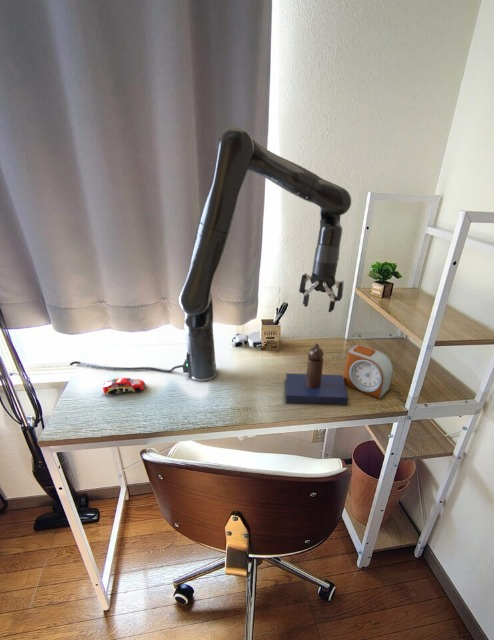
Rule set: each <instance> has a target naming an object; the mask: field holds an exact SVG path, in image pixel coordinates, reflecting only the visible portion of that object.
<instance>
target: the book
mask: <svg viewBox="0 0 494 640" xmlns="http://www.w3.org/2000/svg"><path fill="white" fill-rule="evenodd" d="M306 376H307V373H289V372H288V373H286V376H285V377H286V380H285V404H302V405H305V404H306V405H331V406H332V405H335V406H348V401H349V395H348V390H347V386H346V385H345V383H344V374H341V375H340V374H338V375H337V374H322V377H321V386H320V387H319V388H316V389H312V388H309V387H307V386H306Z"/></svg>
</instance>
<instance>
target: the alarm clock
mask: <svg viewBox="0 0 494 640" xmlns="http://www.w3.org/2000/svg"><path fill="white" fill-rule="evenodd" d="M393 375H394V366H393V363H392V360H391V358H389V356H388V355H387V354H386V353H385V352H382V351H380V350H378V349H374V348H372V347H369V346H366V345H363V344H355V345H354V346H352V347H351V348H350V349H348V350H347V357H346V362H345V367H344V374H343V379H344V383H345V387H349V388H352V389H354V390H356V391H358V392H362V393H364V394H367V395H369V396H372V397H375V398H377V399H381V398H382V397H383V396H384V395H385V394H386V393H387V392H388V391H389V390H390V387H391V383H392V379H393Z"/></svg>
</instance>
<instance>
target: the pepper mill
mask: <svg viewBox="0 0 494 640" xmlns="http://www.w3.org/2000/svg"><path fill="white" fill-rule="evenodd" d="M324 353H325V352H324V350H323V348H322V347H320V344H318V343H314V344H313V347H311V348H310V349H309V351H308V352H307V354H306V355H307V367H306V374H307V376H306V386H307V387H309V388H312V389H316V388H319V387H320V386H321V377H322V375H323V367H324V359H325V358H324Z"/></svg>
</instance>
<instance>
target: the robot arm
mask: <svg viewBox="0 0 494 640" xmlns="http://www.w3.org/2000/svg"><path fill="white" fill-rule="evenodd" d="M215 146H216V152H217V154H216V162H215V169H214V172H213V173H214V174H213V179H212V182H211V186H210V189H209V192H208V194H207V195H206V197H205V200H204V203H203V205H202V208H201V211H200V214H199V217H198V220H197V224H196V229H195V234H194V239H193V243H192V250H191V255H190V263H189V268H188V272H187V275H186V277H185V278H186V279H185V280H184V283H183V286H182V289H181V291H180V293H179V297H178V302H179V305H180V308H181V310H182V311H183V312H184V323H183V324H184V333H185V342H186V350H187V352H186V354H185V356H186V357H185V359H184V362H183V364H179V365H175V366H173V367H171V369H161V368H156V367H151V366H149V367H148V366H143V367H142V366H138V367H123V366H121V367H119V366H118V367H117V366H105V365H98V364H93V363H87V362H86V363H85V362H81V361H77V360H76V361H75V360H74V361H72V362H70V364H69V366H73V365H76V364H77V365H81V366H87V367H92V368H99V369H106V370H120V371H121V370H123V371H133V370H134V371H135V370H150V371H151V370H152V371H157V372H162V373H172V372H173V371H174V370H176V369H181V368H182V372H183V374H188V378H189V379H192V380H194V381H197V382H206V381H210V380H213V379H214V378H215V377H216V376H217V374H218V373H217V363H216V353H215V352H216V351H215V338H214V307H213V294H212V290H211V289H212V284H213V280H214V276H215V275H216V272H217V269H218V267H219V265H220V263H221V260H222V258H223V255H224V253H225V250H226V248H227V245H228V241H229V238H230V234H231V231H232V227H233V223H234V220H235V214H236V211H237V205H238V200H239V196H240V192H241V189H242V187H243V184H244V181H245V179H246V176H247V173H248V171H249V172H252V173H254V174H257V175H259V176H261V177H263V178H265V179H267V180H269V181H270V182H271V183H274V184H275V185H276V186H277V187H280V188H281V189H283V190H284V191H286V192H288V193H290V194H292V195H293V196H295V197H298V198H299V199H301V200H303V201H306V202H307V203H311V204H314V205H316V206H318V207H319V230H318V237H317V243H316V248H315V250H314V251H315V252H314V259H313V265H312V272H311V275H310V274H307V273H304V274H302V275H301V279H300V284H299V289H298V292H299V294H302V295H303V301H302V305H304V307H306V308H307V307H308V306H309V300H310V294H311V292H312V291H313V290H314V291H315V292H321V293H324V294H325V293H326V294H327V296H328V297H329V300H330V301H329V305H328V313H332V312H333V311H334V309H335V306H336V302H340V301H341V300H342V299H343V294H344V293H343V292H344V286H345V281H344V280H341V281H339V280H336V274H337V269H338V263H339V260H340V248H341V243H342V242H341V241H342V235H343V226H342V224H341V216H343V215H345V214H346V213H348V212H349V210H350V209H351V206H352V196H351V194H350V192H349V191H348V190H347V189H346V188H344V187H342V186H340V185H338V184H335V183H333V182H331V181H328V180H326V179H324V178H322V177H320V176H319V175H318V174H316V173H314V172H313V171H311V170H309V169H307V168H306V167H303V166H301V165H299V164H297V163H295V162H294V161H291V160H289V159H286V158H283V157H282V156H280V155H278V154H276V153H274V152H272V151H270V150H269V149H267V148H266V147H264V146H262V145H261V144H260V143H258V142H257V141H255V140H254V139H253V138H252V136H251V135H250V134H249V133H248V131H247V130H246V129H244V128H242V127H240V126H238V125H229V126H226V127H224V128H223V129H222V130H221V131H220V132H219V134H218V136H217V138H216V145H215ZM308 281H310V284H311V286H310V287H309V288H307V289H306V285H307V282H308ZM334 286H336V289H337V294H335V291H334V289H333V287H334Z"/></svg>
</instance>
